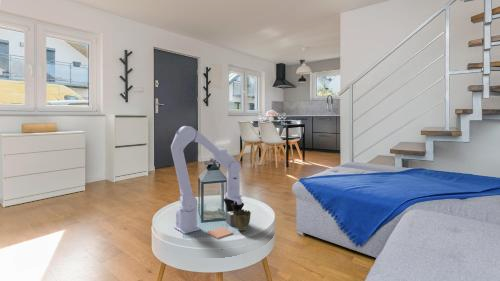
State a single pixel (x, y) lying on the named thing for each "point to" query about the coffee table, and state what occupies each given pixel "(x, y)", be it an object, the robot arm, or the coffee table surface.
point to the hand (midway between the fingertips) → (233, 216)
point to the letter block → (230, 218)
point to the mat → (219, 232)
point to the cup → (242, 219)
